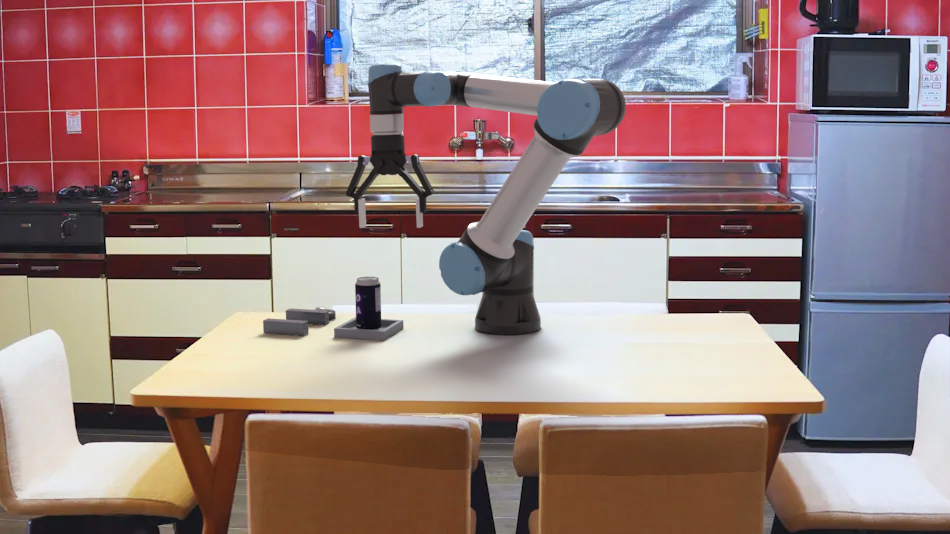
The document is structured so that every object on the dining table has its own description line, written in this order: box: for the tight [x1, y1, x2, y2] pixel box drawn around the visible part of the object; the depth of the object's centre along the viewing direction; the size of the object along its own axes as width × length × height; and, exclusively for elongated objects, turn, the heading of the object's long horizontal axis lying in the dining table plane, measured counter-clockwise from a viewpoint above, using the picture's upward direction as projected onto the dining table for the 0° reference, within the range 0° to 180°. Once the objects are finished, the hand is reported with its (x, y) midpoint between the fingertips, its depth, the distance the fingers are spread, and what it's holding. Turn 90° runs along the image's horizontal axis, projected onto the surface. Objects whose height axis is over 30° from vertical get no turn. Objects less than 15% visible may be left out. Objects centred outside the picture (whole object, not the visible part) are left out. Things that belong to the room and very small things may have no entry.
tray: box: [333, 316, 404, 341], centre depth 249 cm, size 12×12×2 cm
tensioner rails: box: [262, 306, 337, 337], centre depth 258 cm, size 10×21×3 cm, turn 163°
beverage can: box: [354, 276, 382, 330], centre depth 249 cm, size 6×6×12 cm
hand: (391, 227), depth 251 cm, fingers open, 13 cm apart
